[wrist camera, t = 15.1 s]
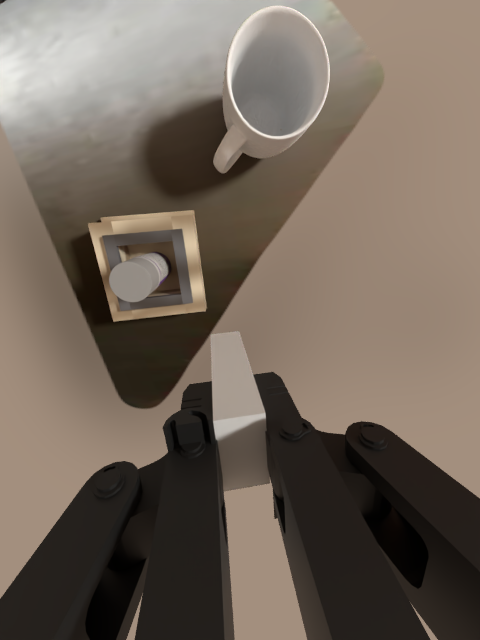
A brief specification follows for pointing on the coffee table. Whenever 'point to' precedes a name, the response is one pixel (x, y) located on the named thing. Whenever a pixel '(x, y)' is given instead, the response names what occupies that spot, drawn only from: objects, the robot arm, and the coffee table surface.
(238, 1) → the coffee table surface
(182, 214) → the socket
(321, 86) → the mug
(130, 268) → the container
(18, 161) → the coffee table surface
